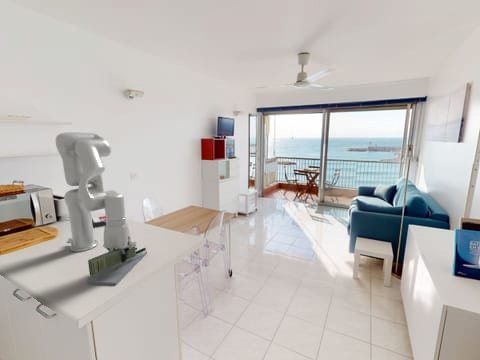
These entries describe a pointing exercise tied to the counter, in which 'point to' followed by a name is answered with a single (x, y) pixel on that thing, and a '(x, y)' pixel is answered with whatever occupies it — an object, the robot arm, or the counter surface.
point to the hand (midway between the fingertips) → (119, 260)
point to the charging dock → (116, 271)
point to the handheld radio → (110, 259)
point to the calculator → (98, 221)
